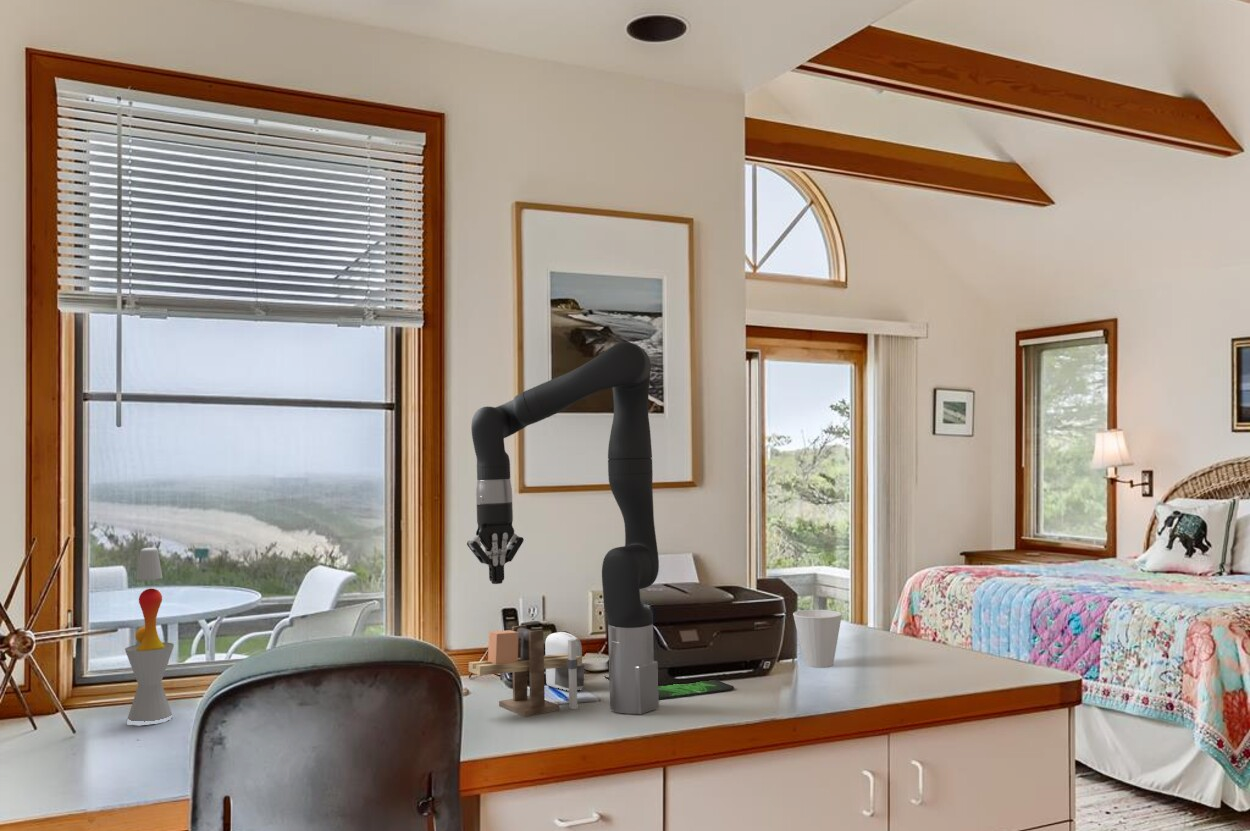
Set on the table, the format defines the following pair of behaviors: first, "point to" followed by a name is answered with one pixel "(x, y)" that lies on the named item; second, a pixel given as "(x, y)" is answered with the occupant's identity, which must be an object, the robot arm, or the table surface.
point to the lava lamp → (149, 648)
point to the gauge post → (572, 673)
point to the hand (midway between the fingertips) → (496, 583)
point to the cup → (818, 636)
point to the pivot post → (536, 673)
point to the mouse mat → (691, 689)
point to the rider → (503, 647)
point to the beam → (523, 664)
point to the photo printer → (559, 645)
